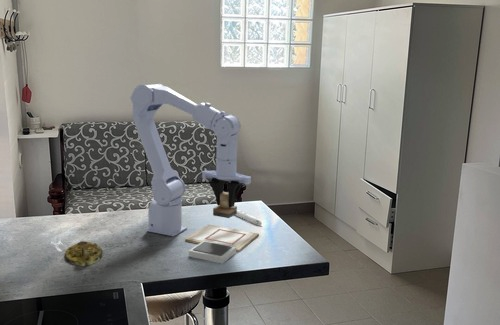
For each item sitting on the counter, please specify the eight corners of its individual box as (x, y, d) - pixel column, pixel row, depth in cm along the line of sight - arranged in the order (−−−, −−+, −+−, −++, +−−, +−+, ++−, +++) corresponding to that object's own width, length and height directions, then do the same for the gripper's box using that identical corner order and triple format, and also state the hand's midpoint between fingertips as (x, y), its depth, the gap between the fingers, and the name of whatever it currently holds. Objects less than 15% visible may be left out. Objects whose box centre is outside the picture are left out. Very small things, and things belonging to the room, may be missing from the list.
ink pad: (188, 256, 129) (188, 249, 129) (203, 246, 137) (203, 240, 136) (222, 263, 125) (222, 256, 125) (235, 252, 133) (235, 246, 132)
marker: (264, 226, 155) (264, 219, 154) (259, 227, 154) (259, 220, 153) (231, 211, 169) (231, 204, 168) (226, 212, 168) (226, 205, 167)
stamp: (213, 215, 139) (213, 194, 137) (221, 211, 143) (221, 190, 142) (228, 218, 137) (229, 196, 135) (236, 213, 141) (237, 192, 140)
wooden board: (185, 240, 140) (185, 238, 140) (208, 226, 152) (208, 223, 152) (238, 251, 133) (239, 249, 133) (258, 235, 146) (258, 233, 146)
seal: (63, 251, 133) (69, 273, 120) (60, 235, 132) (66, 255, 119) (98, 243, 137) (108, 263, 124) (95, 227, 136) (105, 246, 123)
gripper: (196, 158, 136) (196, 205, 139) (244, 164, 130) (242, 213, 133) (209, 154, 142) (208, 199, 145) (254, 159, 137) (253, 206, 139)
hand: (225, 205), depth 140 cm, fingers closed on stamp, 3 cm apart
